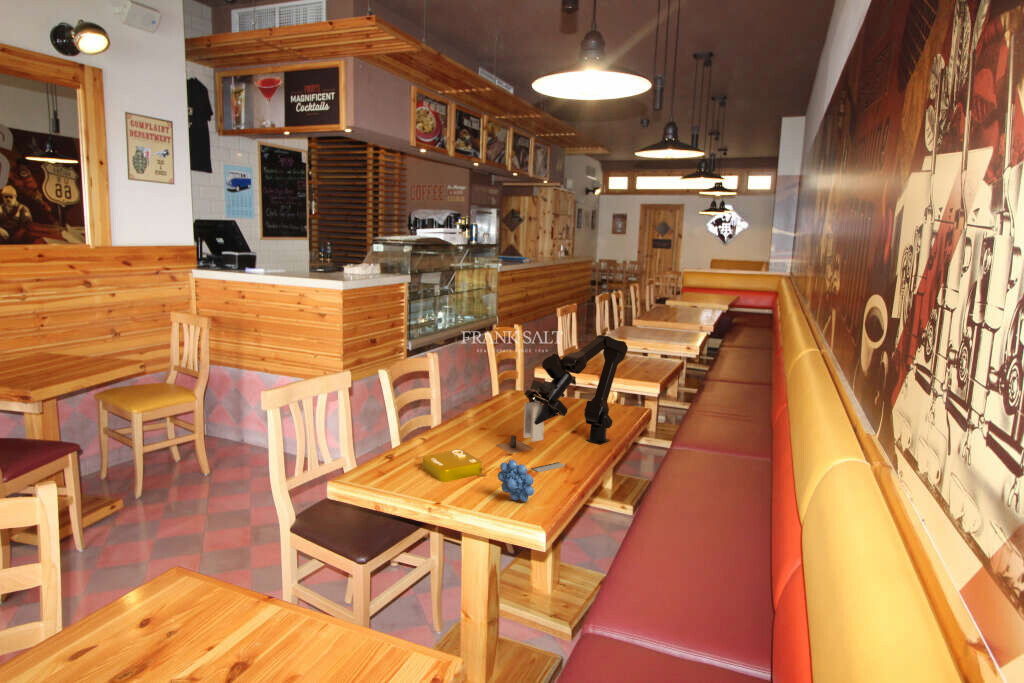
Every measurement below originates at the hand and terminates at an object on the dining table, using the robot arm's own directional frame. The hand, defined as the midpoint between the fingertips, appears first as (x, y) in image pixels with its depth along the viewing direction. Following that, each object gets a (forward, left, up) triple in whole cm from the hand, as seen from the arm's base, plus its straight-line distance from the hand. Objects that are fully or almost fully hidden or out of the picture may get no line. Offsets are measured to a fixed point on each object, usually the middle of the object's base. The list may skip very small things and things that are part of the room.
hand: (530, 421), depth 206 cm
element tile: (+25, -12, -14) cm, 31 cm away
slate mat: (0, +5, -14) cm, 15 cm away
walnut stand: (-5, -11, -14) cm, 18 cm away
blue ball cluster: (+29, +18, -14) cm, 37 cm away
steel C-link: (-1, 0, -6) cm, 6 cm away
